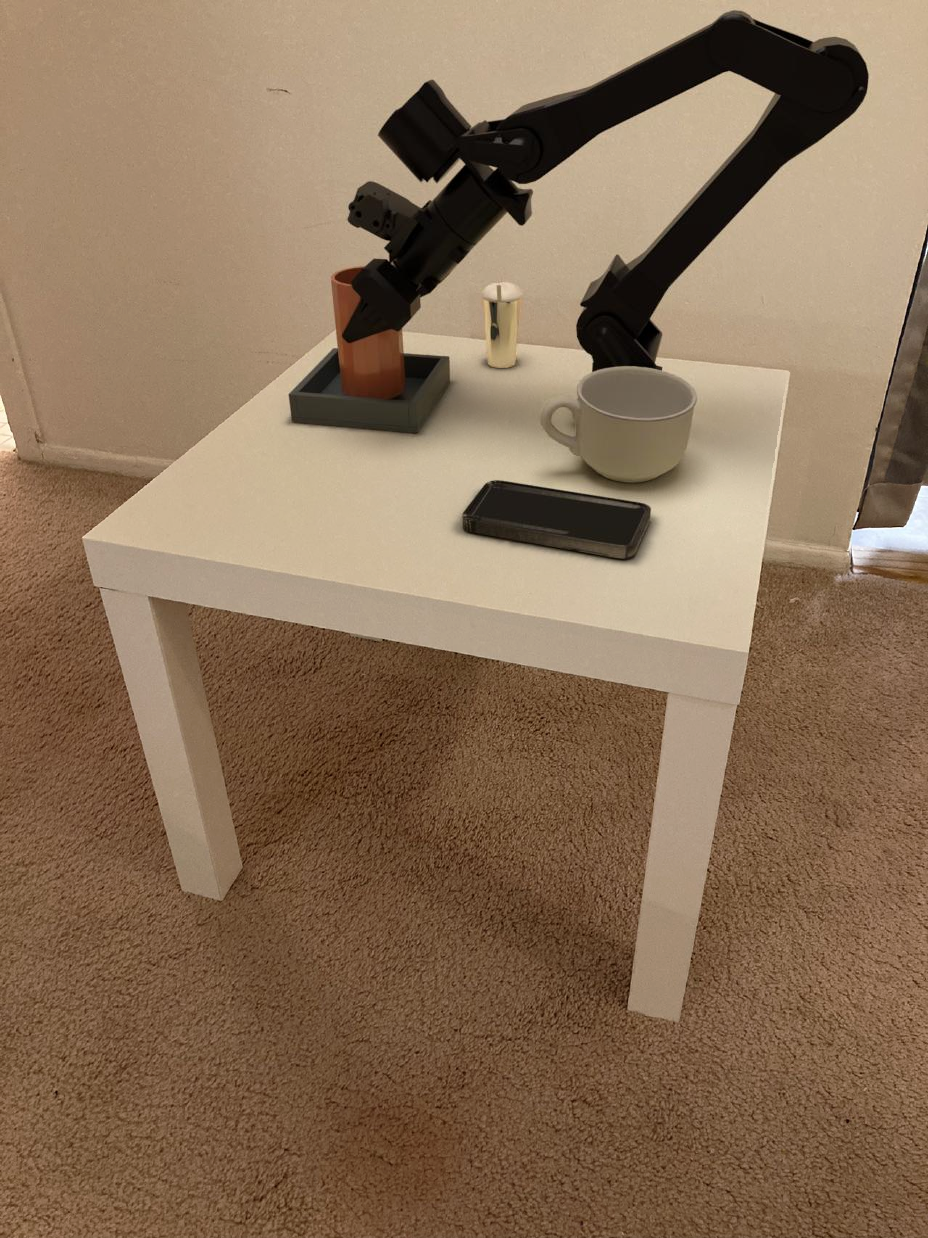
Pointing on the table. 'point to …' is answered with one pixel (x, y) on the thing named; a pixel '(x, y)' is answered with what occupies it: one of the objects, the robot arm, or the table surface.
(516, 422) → the table surface
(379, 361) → the cup
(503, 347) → the milkshake
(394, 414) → the tray
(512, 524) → the phone
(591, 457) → the teacup
